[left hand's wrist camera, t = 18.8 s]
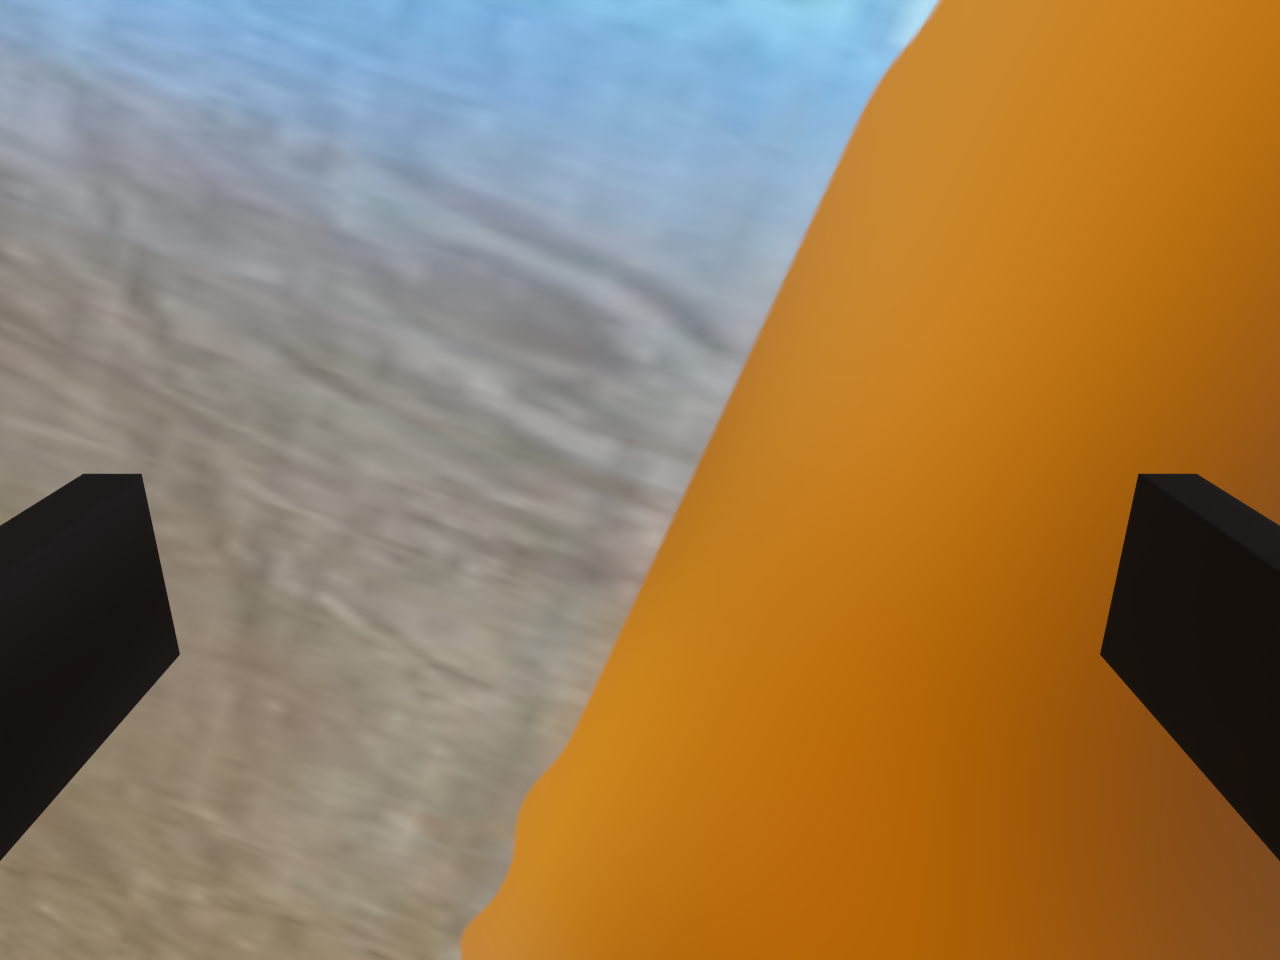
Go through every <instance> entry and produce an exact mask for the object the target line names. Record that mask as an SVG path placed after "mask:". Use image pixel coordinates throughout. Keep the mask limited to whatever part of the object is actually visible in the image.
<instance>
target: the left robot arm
mask: <svg viewBox="0 0 1280 960" xmlns="http://www.w3.org/2000/svg"><path fill="white" fill-rule="evenodd" d="M179 655H180V653H179V648H178V643H177V639H176V634H175V629H174V625H173V620H172V615H171V610H170V606H169V601H168V596H167V592H166V587H165V582H164V577H163V573H162V568H161V563H160V559H159V554H158V549H157V544H156V540H155V535H154V530H153V526H152V521H151V516H150V512H149V507H148V502H147V497H146V493H145V488H144V483H143V479H142V474H82V475H81V476H79V477H78V478H76V479H74V480H73V481H71V482H70V483H68V484H66V485H65V486H63V487H62V488H60V489H58V490H57V491H55V492H54V493H52V494H50V495H49V496H47V497H46V498H44V499H42V500H41V501H39V502H38V503H36V504H34V505H33V506H31V507H30V508H28V509H26V510H25V511H23V512H22V513H20V514H18V515H17V516H15V517H14V518H12V519H10V520H9V521H7V522H6V523H4V524H2V525H1V526H0V861H1V859H2V858H3V857H4V856H5V855H6V854H7V853H8V851H9V850H10V849H11V848H12V847H13V846H14V844H15V843H16V842H17V841H18V840H19V839H20V838H21V836H22V835H23V834H24V833H25V832H26V831H27V830H28V828H29V827H30V826H31V825H32V824H33V823H34V821H35V820H36V819H37V818H38V817H39V816H40V815H41V813H42V812H43V811H44V810H45V809H46V808H47V807H48V805H49V804H50V803H51V802H52V801H53V800H54V799H55V797H56V796H57V795H58V794H59V793H60V792H61V790H62V789H63V788H64V787H65V786H66V785H67V784H68V782H69V781H70V780H71V779H72V778H73V777H74V776H75V774H76V773H77V772H78V771H79V770H80V769H81V768H82V766H83V765H84V764H85V763H86V762H87V761H88V759H89V758H90V757H91V756H92V755H93V754H94V753H95V751H96V750H97V749H98V748H99V747H100V746H101V745H102V743H103V742H104V741H105V740H106V739H107V738H108V736H109V735H110V734H111V733H112V732H113V731H114V730H115V728H116V727H117V726H118V725H119V724H120V723H121V722H122V720H123V719H124V718H125V717H126V716H127V715H128V714H129V712H130V711H131V710H132V709H133V708H134V707H135V705H136V704H137V703H138V702H139V701H140V700H141V699H142V697H143V696H144V695H145V694H146V693H147V692H148V691H149V689H150V688H151V687H152V686H153V685H154V684H155V683H156V681H157V680H158V679H159V678H160V677H161V676H162V674H163V673H164V672H165V671H166V670H167V669H168V668H169V666H170V665H171V664H172V663H173V662H174V661H175V660H176V658H177V657H178V656H179ZM1100 655H1101V656H1102V657H1103V658H1104V660H1105V661H1106V662H1107V663H1108V664H1109V665H1110V666H1111V668H1112V669H1113V670H1114V671H1115V672H1116V673H1117V674H1118V676H1119V677H1120V678H1121V679H1122V680H1123V681H1124V683H1125V684H1126V685H1127V686H1128V687H1129V688H1130V689H1131V691H1132V692H1133V693H1134V694H1135V695H1136V696H1137V697H1138V699H1139V700H1140V701H1141V702H1142V703H1143V704H1144V705H1145V707H1146V708H1147V709H1148V710H1149V711H1150V712H1151V713H1152V715H1153V716H1154V717H1155V718H1156V719H1157V720H1158V722H1159V723H1160V724H1161V725H1162V726H1163V727H1164V728H1165V730H1166V731H1167V732H1168V733H1169V734H1170V735H1171V736H1172V738H1173V739H1174V740H1175V741H1176V742H1177V743H1178V744H1179V746H1180V747H1181V748H1182V749H1183V750H1184V751H1185V753H1186V754H1187V755H1188V756H1189V757H1190V758H1191V759H1192V760H1193V762H1194V763H1195V764H1196V765H1197V766H1198V767H1199V769H1200V770H1201V771H1202V772H1203V773H1204V774H1205V776H1206V777H1207V778H1208V779H1209V780H1210V781H1211V782H1212V784H1213V785H1214V786H1215V787H1216V788H1217V789H1218V790H1219V792H1220V793H1221V794H1222V795H1223V796H1224V797H1225V798H1226V800H1227V801H1228V802H1229V803H1230V804H1231V805H1232V807H1233V808H1234V809H1235V810H1236V811H1237V812H1238V813H1239V815H1240V816H1241V817H1242V818H1243V819H1244V820H1245V821H1246V823H1247V824H1248V825H1249V826H1250V827H1251V828H1252V830H1253V831H1254V832H1255V833H1256V834H1257V835H1258V836H1259V837H1260V839H1261V840H1262V841H1263V842H1264V843H1265V844H1266V846H1267V847H1268V848H1269V849H1270V850H1271V851H1272V853H1273V854H1274V855H1275V856H1276V857H1277V858H1278V859H1279V861H1280V526H1279V525H1278V524H1276V523H1274V522H1273V521H1271V520H1270V519H1268V518H1266V517H1265V516H1263V515H1262V514H1260V513H1258V512H1257V511H1255V510H1254V509H1252V508H1250V507H1249V506H1247V505H1246V504H1244V503H1242V502H1241V501H1239V500H1238V499H1236V498H1234V497H1233V496H1231V495H1230V494H1228V493H1226V492H1225V491H1223V490H1222V489H1220V488H1218V487H1217V486H1215V485H1214V484H1212V483H1210V482H1209V481H1207V480H1206V479H1204V478H1202V477H1201V476H1199V475H1198V474H1138V479H1137V484H1136V488H1135V493H1134V498H1133V502H1132V507H1131V512H1130V516H1129V521H1128V526H1127V530H1126V535H1125V540H1124V544H1123V549H1122V554H1121V559H1120V563H1119V568H1118V573H1117V578H1116V582H1115V587H1114V592H1113V596H1112V601H1111V606H1110V610H1109V615H1108V620H1107V625H1106V629H1105V634H1104V639H1103V643H1102V648H1101V653H1100Z"/></svg>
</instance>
